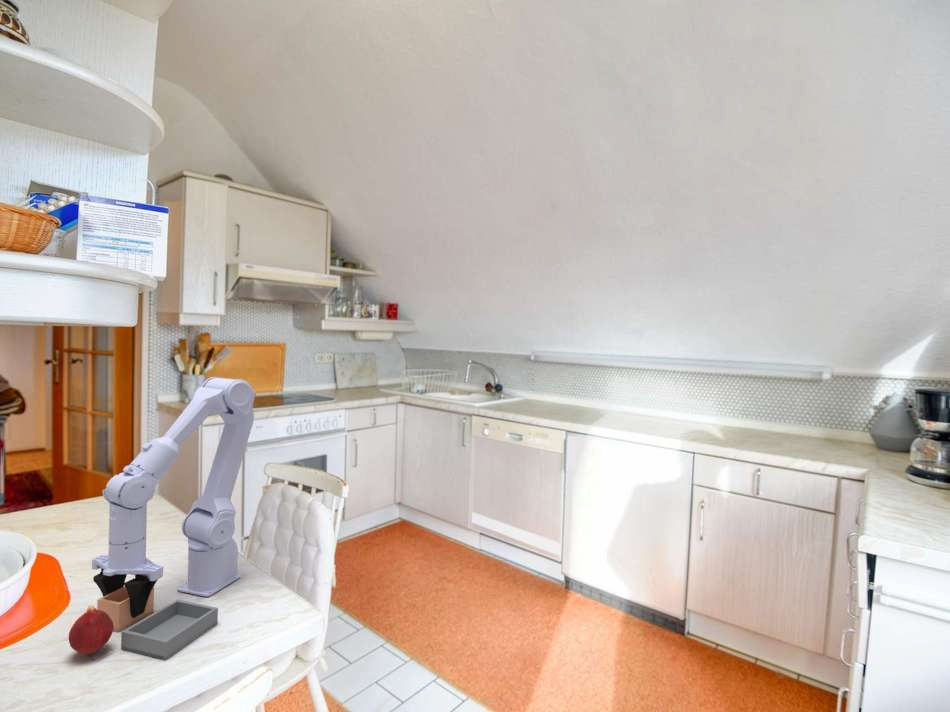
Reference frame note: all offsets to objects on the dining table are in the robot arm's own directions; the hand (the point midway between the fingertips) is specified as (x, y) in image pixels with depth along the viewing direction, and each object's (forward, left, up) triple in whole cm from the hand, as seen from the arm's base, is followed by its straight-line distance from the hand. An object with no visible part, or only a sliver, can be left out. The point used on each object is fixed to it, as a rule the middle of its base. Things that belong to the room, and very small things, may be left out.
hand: (126, 611), depth 93 cm
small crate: (0, 0, -1) cm, 1 cm away
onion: (+9, +4, -2) cm, 10 cm away
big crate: (+1, +12, -1) cm, 12 cm away
